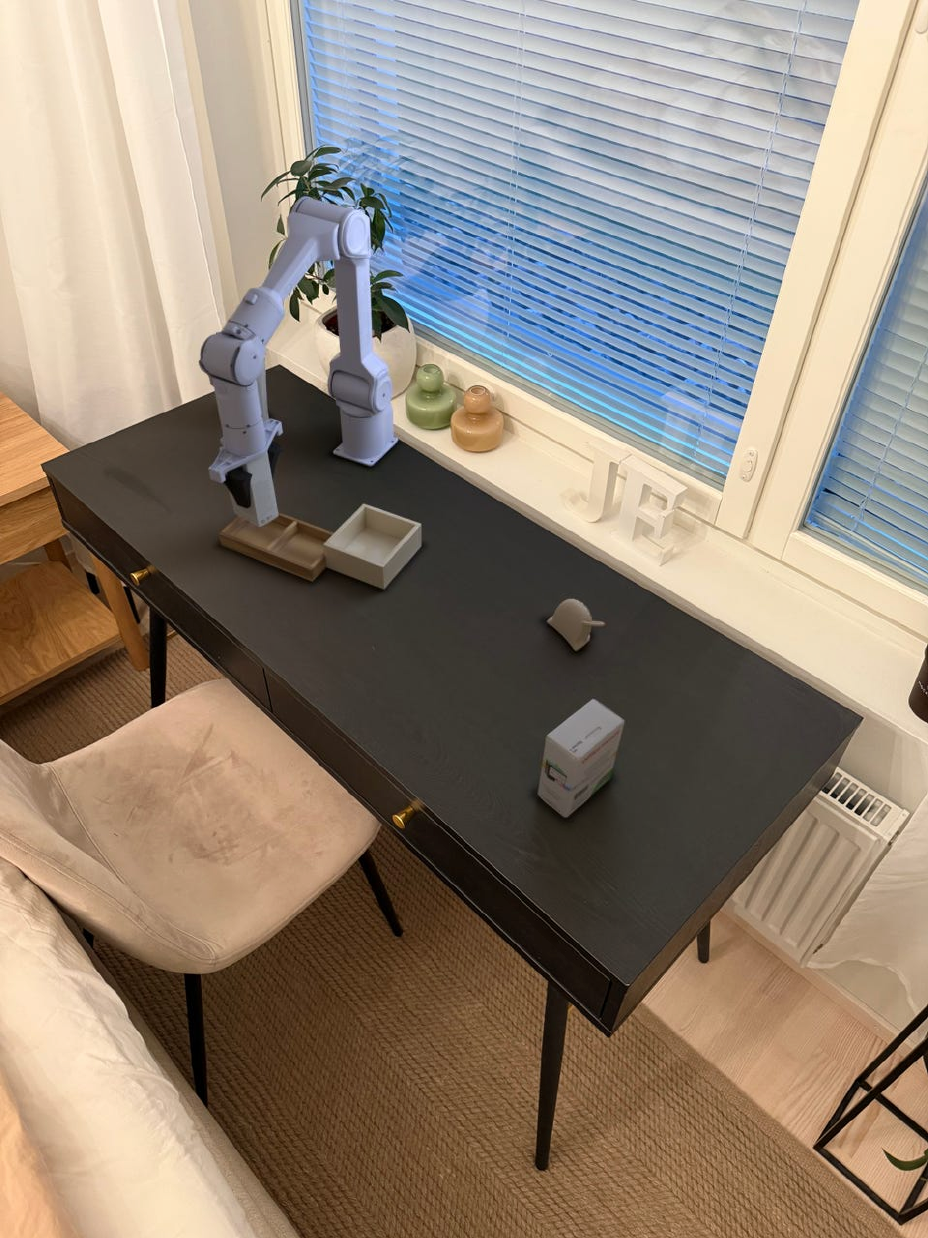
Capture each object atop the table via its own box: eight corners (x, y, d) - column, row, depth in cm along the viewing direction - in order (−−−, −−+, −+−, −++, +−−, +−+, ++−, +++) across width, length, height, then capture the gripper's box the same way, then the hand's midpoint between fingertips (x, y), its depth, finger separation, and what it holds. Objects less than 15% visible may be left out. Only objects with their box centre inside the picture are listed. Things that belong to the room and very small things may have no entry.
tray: (255, 514, 144) (253, 502, 143) (344, 548, 139) (343, 536, 137) (221, 545, 139) (218, 533, 137) (312, 581, 133) (311, 569, 132)
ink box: (581, 755, 112) (593, 695, 104) (611, 779, 110) (627, 719, 102) (535, 794, 108) (544, 734, 100) (566, 820, 106) (577, 761, 97)
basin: (364, 525, 143) (363, 503, 140) (421, 546, 140) (421, 523, 137) (325, 566, 136) (322, 544, 133) (383, 589, 133) (382, 567, 129)
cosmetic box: (280, 516, 137) (270, 449, 129) (258, 530, 134) (247, 462, 126) (252, 500, 140) (241, 433, 131) (230, 513, 137) (218, 446, 129)
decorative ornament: (568, 611, 131) (572, 584, 127) (604, 647, 126) (609, 620, 122) (546, 621, 129) (549, 594, 125) (581, 658, 124) (586, 631, 120)
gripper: (249, 386, 130) (262, 463, 140) (184, 435, 121) (202, 513, 131) (289, 399, 128) (299, 476, 138) (226, 449, 119) (241, 528, 129)
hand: (254, 495), depth 134 cm, fingers closed on cosmetic box, 5 cm apart
